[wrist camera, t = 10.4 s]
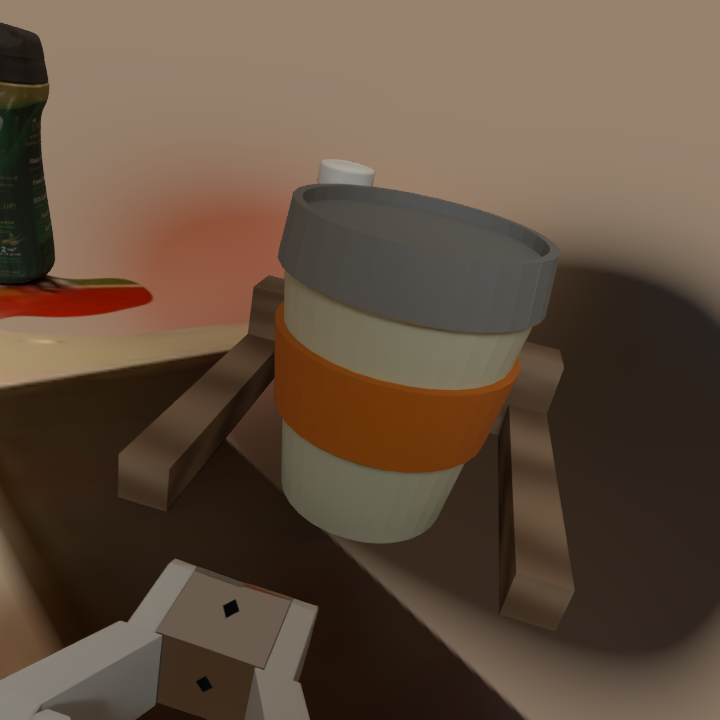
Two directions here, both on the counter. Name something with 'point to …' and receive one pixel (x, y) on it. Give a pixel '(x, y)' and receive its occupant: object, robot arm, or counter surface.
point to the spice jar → (344, 173)
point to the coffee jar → (23, 159)
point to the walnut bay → (513, 426)
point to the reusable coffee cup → (396, 350)
